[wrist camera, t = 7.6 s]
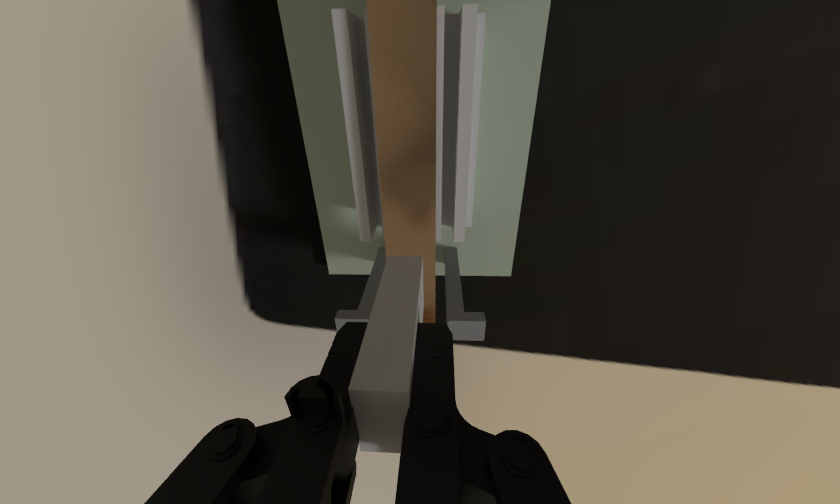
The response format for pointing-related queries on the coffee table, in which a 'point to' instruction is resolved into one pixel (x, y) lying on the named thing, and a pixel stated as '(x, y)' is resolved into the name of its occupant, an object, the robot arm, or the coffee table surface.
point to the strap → (407, 128)
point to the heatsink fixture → (455, 137)
